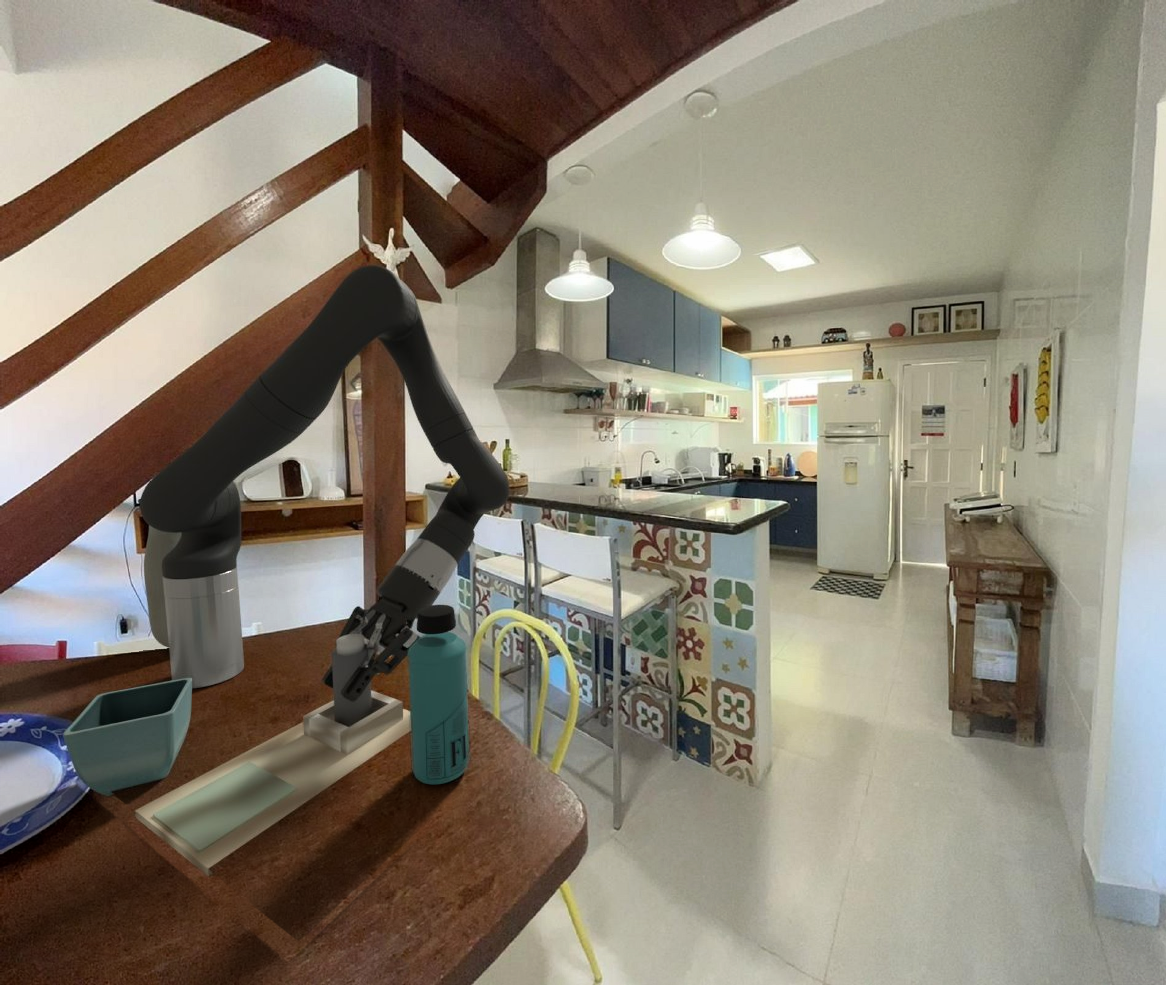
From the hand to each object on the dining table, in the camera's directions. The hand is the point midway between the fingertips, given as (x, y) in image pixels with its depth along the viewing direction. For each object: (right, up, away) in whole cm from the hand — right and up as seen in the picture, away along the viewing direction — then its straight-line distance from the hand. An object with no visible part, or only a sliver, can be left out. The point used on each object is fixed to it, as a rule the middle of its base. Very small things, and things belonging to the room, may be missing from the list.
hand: (337, 691), depth 61 cm
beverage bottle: (+15, -8, -6) cm, 18 cm away
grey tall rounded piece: (-42, -3, +28) cm, 50 cm away
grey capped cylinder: (+1, -5, +2) cm, 5 cm away
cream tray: (-2, -7, -4) cm, 8 cm away
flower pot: (-19, -7, -6) cm, 21 cm away
